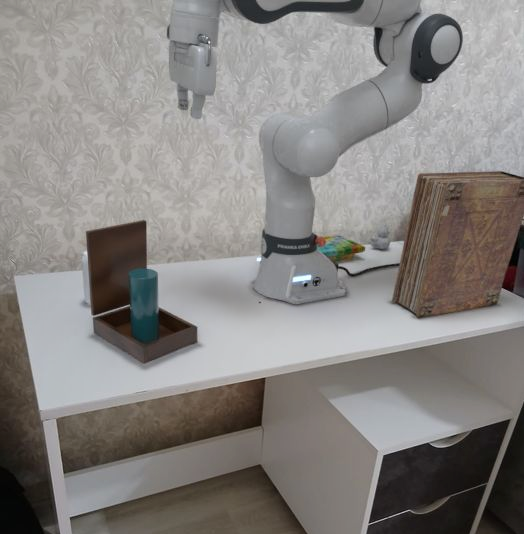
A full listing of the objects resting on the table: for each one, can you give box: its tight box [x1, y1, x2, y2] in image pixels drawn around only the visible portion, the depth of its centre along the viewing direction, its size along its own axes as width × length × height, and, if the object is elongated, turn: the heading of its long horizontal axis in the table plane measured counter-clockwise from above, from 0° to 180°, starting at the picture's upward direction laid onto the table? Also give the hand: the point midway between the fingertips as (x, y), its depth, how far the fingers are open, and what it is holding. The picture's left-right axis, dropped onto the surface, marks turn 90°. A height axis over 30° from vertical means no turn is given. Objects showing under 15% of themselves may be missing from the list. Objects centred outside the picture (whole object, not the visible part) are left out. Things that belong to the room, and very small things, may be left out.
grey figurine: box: [370, 223, 391, 250], centre depth 166 cm, size 5×7×8 cm
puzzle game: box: [317, 234, 366, 263], centre depth 156 cm, size 12×5×20 cm
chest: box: [92, 305, 198, 364], centre depth 106 cm, size 16×13×4 cm
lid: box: [85, 219, 148, 317], centre depth 106 cm, size 16×13×5 cm
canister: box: [129, 268, 160, 343], centre depth 103 cm, size 5×5×13 cm
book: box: [391, 170, 524, 319], centre depth 126 cm, size 25×9×30 cm, turn 116°
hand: (189, 113), depth 108 cm, fingers open, 8 cm apart
